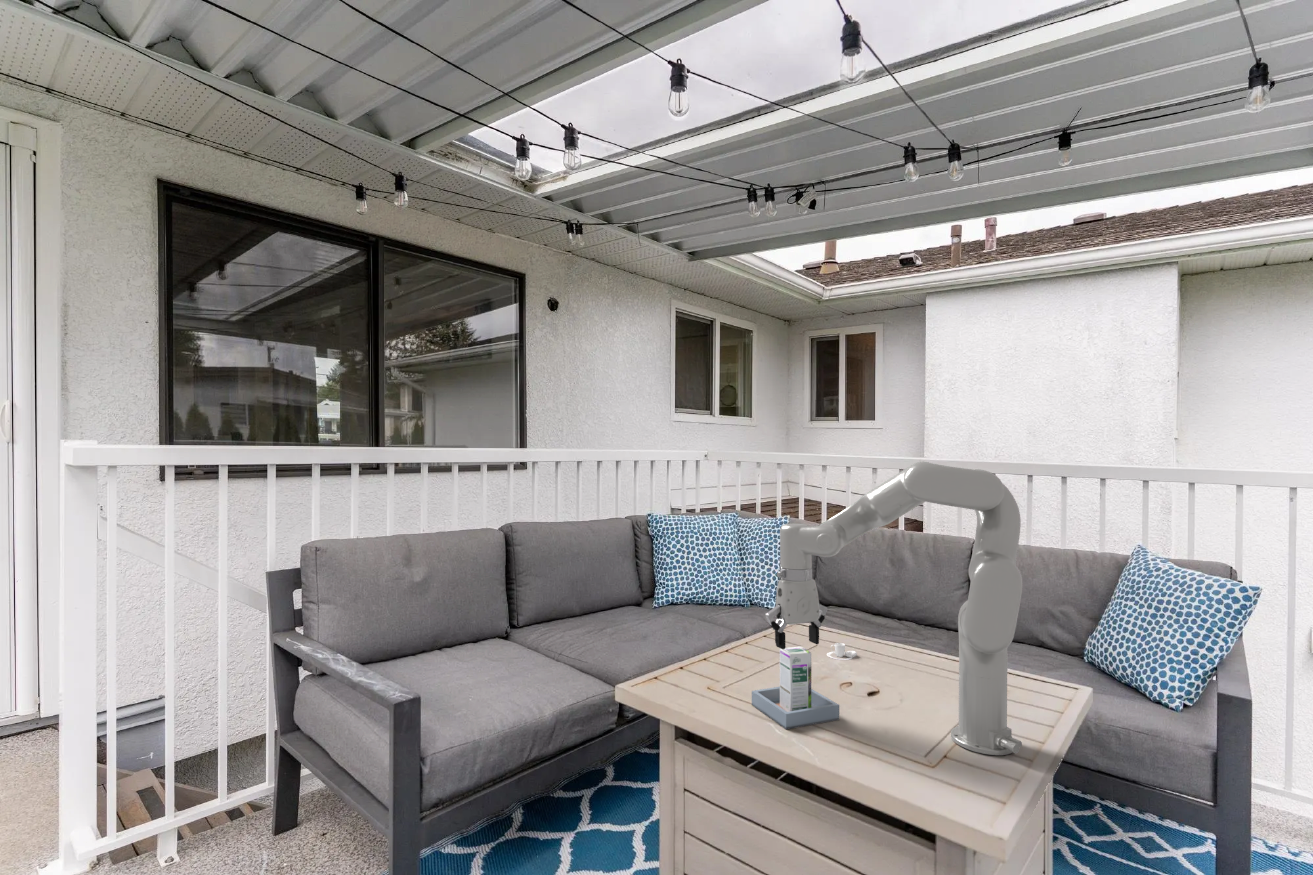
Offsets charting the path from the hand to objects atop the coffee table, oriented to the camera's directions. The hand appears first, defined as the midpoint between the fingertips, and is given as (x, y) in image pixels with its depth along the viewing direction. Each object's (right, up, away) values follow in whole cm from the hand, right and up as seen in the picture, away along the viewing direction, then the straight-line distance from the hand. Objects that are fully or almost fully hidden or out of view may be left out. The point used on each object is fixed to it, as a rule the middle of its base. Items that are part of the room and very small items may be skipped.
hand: (797, 645), depth 156 cm
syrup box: (-1, -16, 0) cm, 16 cm away
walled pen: (-1, -16, 0) cm, 16 cm away
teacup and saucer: (+24, -18, +41) cm, 51 cm away
